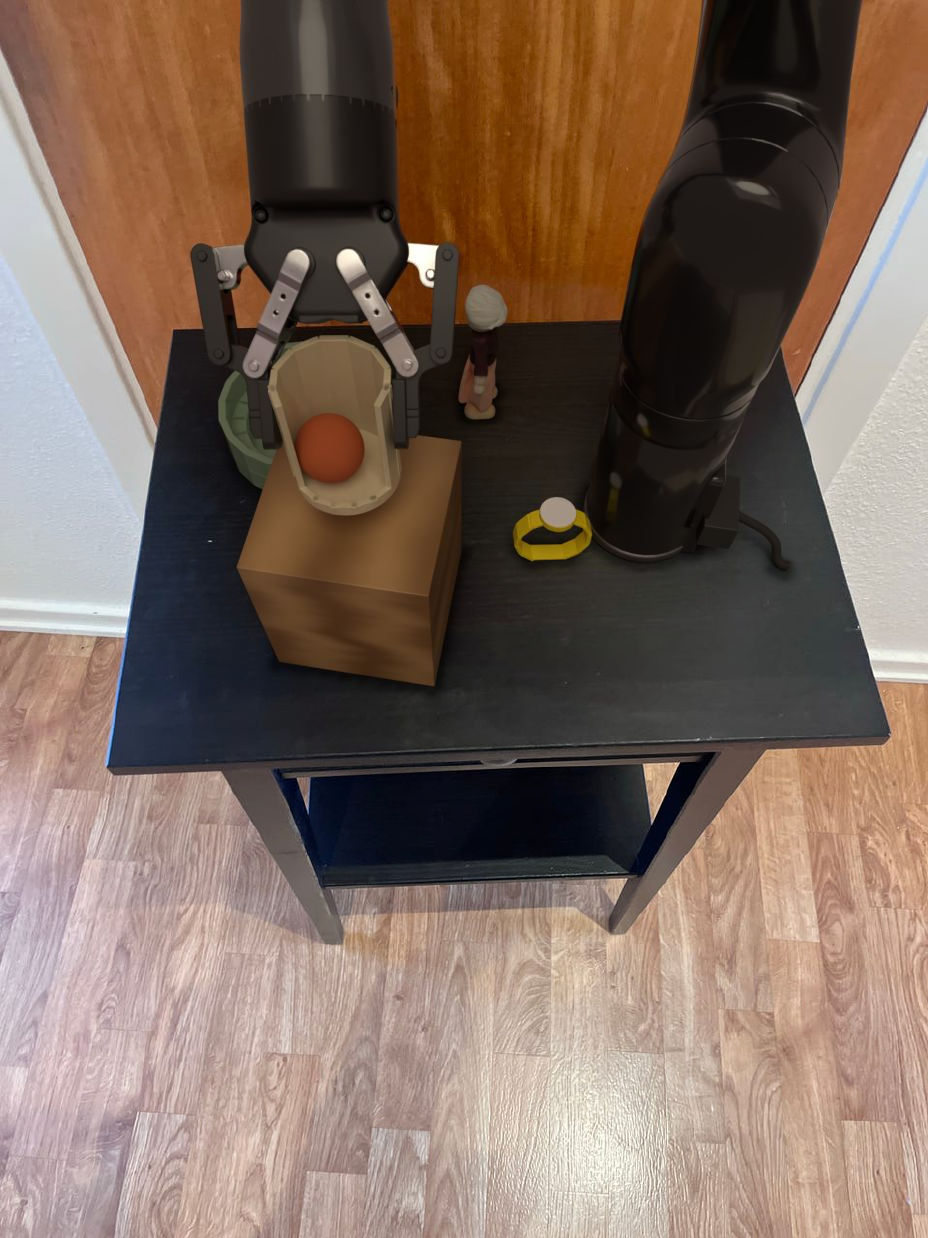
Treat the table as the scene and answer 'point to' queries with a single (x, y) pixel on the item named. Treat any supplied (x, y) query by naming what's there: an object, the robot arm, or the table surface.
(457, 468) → the stand
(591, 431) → the table surface
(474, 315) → the grandmother figurine
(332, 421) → the ball
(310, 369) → the cup
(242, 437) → the bowl
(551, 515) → the watch
